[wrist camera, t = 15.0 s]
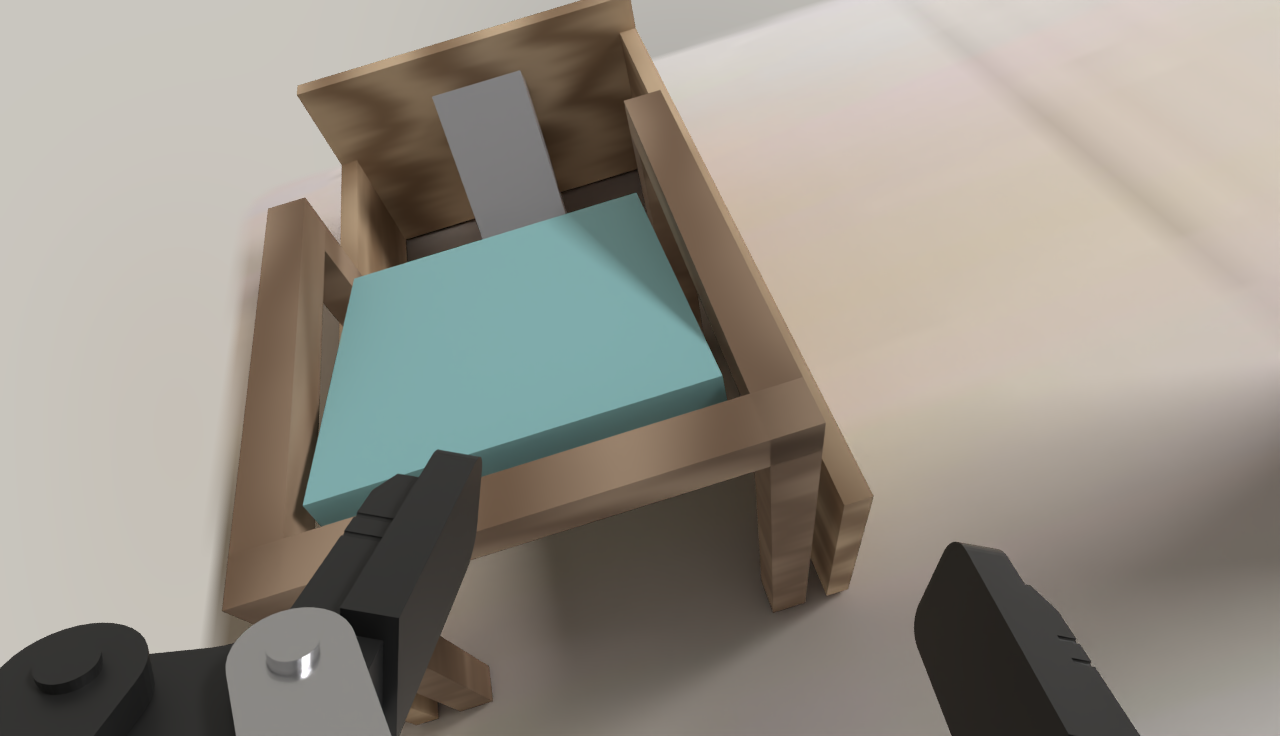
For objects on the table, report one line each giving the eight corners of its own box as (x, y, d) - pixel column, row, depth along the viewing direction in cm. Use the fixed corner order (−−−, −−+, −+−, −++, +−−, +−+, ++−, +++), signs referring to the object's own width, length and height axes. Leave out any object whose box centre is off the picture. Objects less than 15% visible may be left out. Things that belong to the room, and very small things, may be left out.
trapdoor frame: (655, 154, 50) (612, -89, 37) (848, 589, 30) (900, 399, 17) (391, 234, 50) (255, 18, 37) (416, 725, 30) (145, 634, 17)
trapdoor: (641, 213, 29) (636, 192, 28) (727, 401, 19) (722, 375, 19) (365, 298, 28) (354, 278, 28) (321, 527, 19) (302, 505, 19)
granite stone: (519, 70, 37) (581, 263, 41) (525, 80, 42) (579, 253, 45) (431, 96, 37) (500, 288, 40) (447, 104, 42) (507, 275, 45)
